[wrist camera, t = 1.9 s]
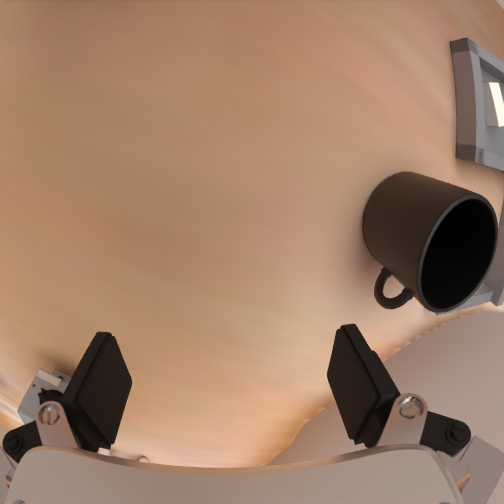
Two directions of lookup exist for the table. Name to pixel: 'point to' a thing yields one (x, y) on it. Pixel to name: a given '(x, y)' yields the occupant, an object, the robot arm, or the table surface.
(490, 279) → the organizer
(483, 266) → the mug
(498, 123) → the eraser
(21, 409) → the circuit breaker
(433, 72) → the table surface
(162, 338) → the table surface
